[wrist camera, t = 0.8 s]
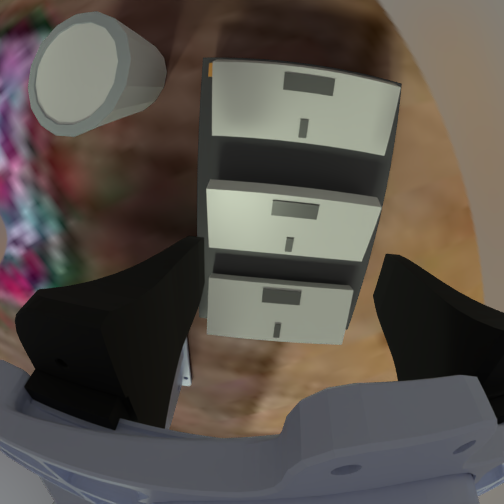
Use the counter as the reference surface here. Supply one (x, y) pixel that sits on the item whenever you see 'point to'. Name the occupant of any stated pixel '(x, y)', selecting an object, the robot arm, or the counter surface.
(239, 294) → the pale rectangular block
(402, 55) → the counter surface
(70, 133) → the shot glass
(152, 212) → the counter surface
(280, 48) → the counter surface
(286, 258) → the filing cabinet
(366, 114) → the cabinet drawer
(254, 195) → the filing cabinet drawer
